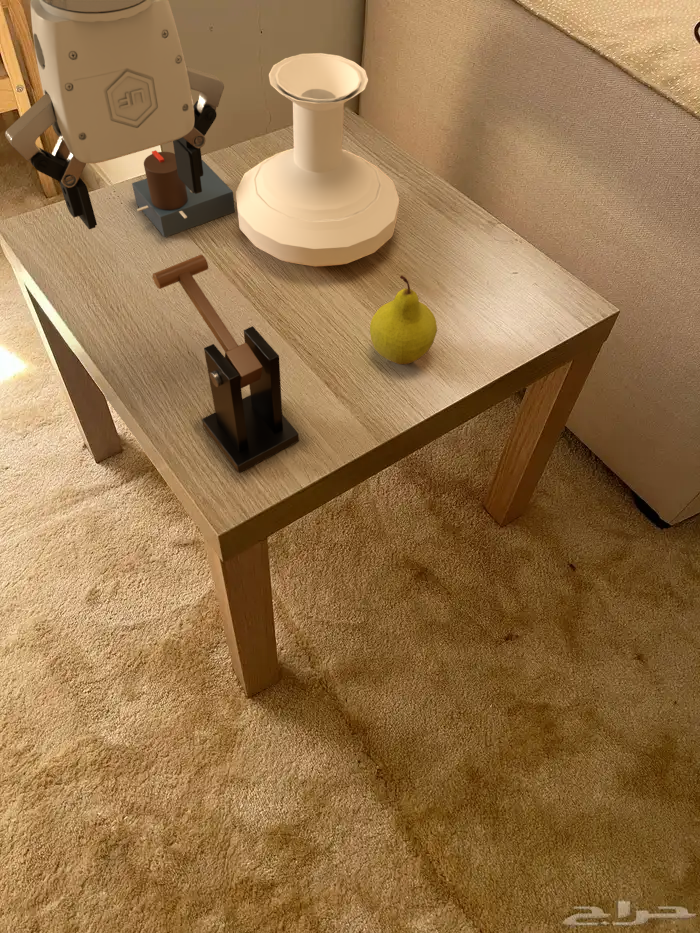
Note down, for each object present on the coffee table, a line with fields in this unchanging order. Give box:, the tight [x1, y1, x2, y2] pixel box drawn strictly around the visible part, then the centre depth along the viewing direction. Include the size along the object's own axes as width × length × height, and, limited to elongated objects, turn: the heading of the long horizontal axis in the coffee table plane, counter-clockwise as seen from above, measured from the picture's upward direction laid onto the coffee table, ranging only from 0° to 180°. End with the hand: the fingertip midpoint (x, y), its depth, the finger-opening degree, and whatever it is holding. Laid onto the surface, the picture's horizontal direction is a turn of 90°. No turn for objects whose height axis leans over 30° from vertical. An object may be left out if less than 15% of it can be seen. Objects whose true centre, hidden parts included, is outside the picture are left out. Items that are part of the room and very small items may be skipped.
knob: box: [143, 149, 188, 210], centre depth 85 cm, size 4×4×5 cm
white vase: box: [235, 52, 400, 268], centre depth 81 cm, size 20×20×19 cm
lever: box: [151, 254, 263, 389], centre depth 63 cm, size 13×5×2 cm, turn 36°
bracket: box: [201, 325, 300, 474], centre depth 66 cm, size 7×7×12 cm
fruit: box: [369, 275, 438, 365], centre depth 73 cm, size 7×7×12 cm
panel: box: [131, 159, 236, 238], centre depth 89 cm, size 12×10×3 cm
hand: (139, 202), depth 60 cm, fingers open, 9 cm apart
